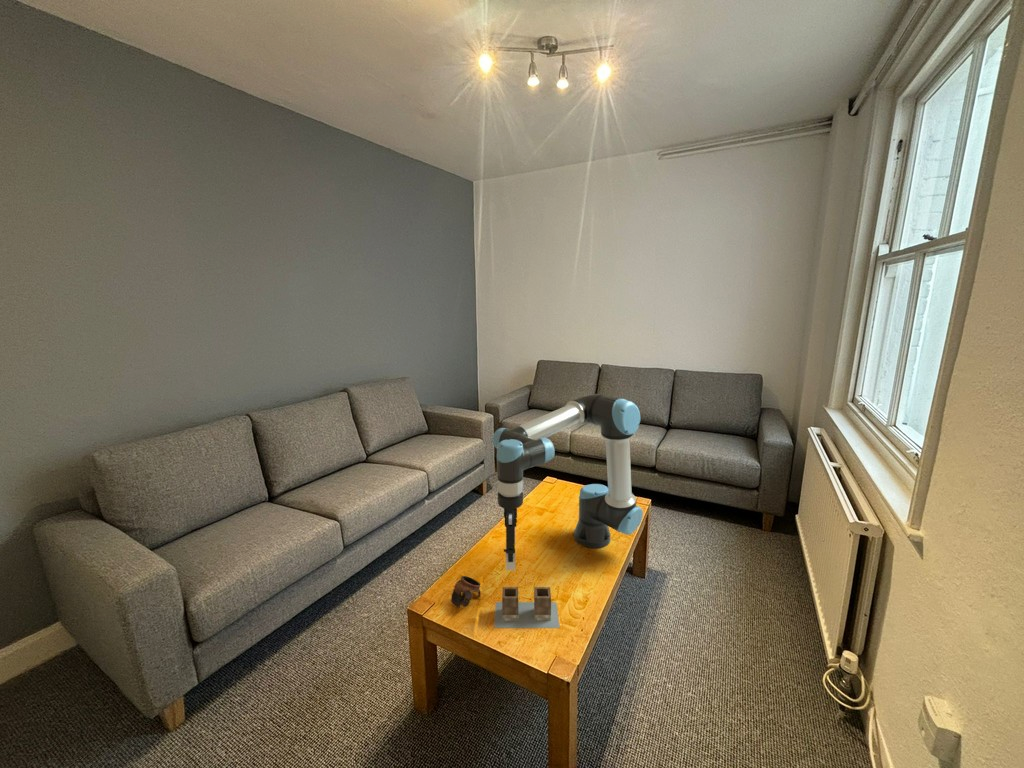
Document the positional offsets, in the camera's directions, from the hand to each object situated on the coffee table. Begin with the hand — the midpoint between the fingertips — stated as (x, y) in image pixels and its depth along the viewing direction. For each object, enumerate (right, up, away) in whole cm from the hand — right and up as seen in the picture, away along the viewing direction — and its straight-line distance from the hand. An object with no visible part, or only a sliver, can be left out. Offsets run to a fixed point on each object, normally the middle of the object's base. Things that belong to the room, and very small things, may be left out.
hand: (510, 555), depth 129 cm
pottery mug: (-15, -20, +12) cm, 28 cm away
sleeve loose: (0, -20, +4) cm, 21 cm away
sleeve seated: (+10, -20, +4) cm, 23 cm away
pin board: (+5, -22, +4) cm, 23 cm away
